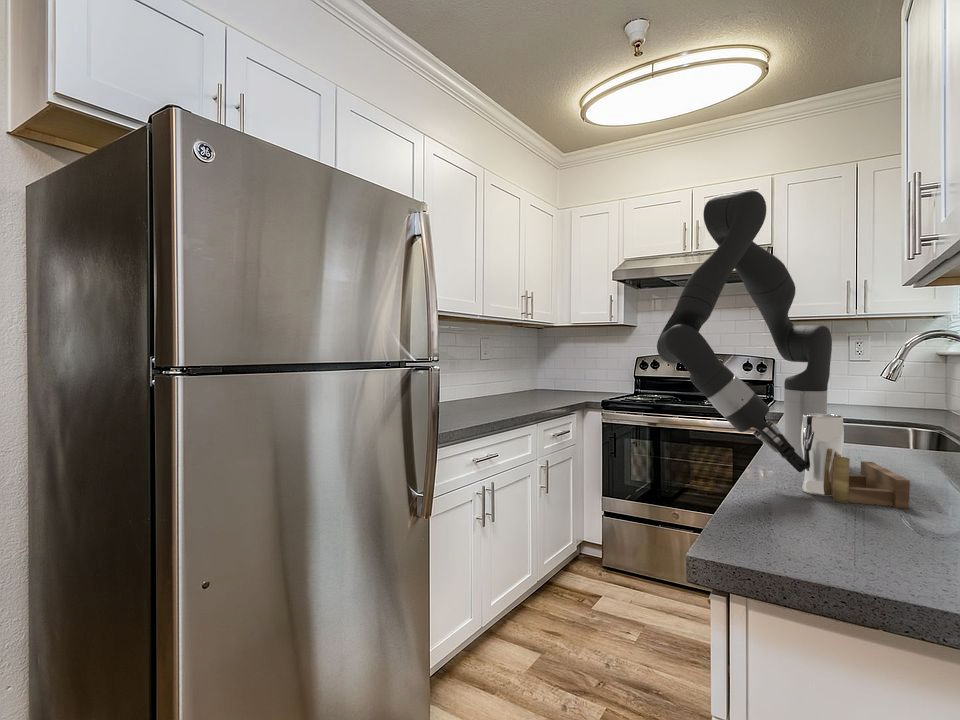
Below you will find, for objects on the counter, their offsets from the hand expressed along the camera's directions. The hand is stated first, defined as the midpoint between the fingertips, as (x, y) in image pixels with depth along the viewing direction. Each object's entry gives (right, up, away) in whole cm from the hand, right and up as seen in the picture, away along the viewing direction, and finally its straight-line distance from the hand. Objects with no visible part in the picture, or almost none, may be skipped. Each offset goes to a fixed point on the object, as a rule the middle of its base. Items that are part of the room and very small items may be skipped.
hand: (803, 468), depth 106 cm
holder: (+8, -5, -2) cm, 9 cm away
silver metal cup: (+3, -5, -1) cm, 6 cm away
